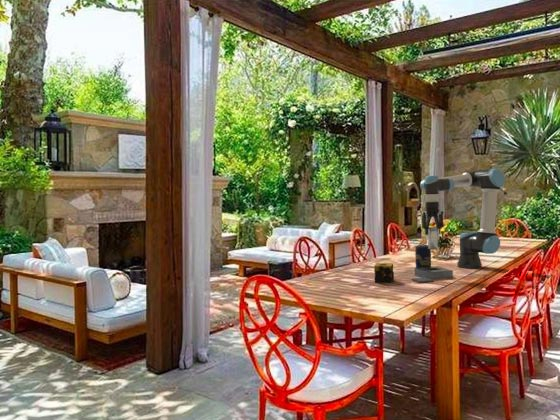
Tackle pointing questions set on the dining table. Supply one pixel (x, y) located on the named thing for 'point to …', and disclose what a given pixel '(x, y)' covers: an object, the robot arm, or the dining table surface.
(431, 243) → the silver metal cylinder
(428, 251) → the canister
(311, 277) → the dining table surface
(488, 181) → the robot arm
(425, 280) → the coaster
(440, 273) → the housing
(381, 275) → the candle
